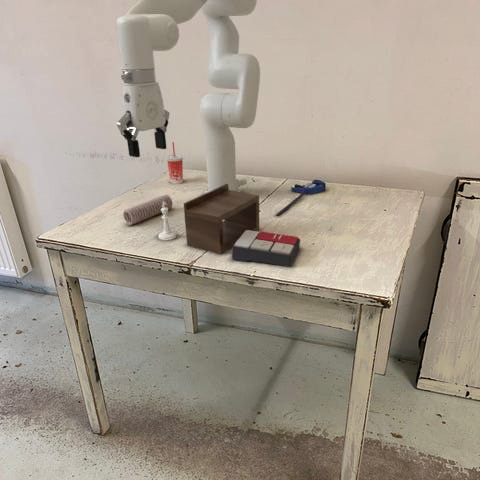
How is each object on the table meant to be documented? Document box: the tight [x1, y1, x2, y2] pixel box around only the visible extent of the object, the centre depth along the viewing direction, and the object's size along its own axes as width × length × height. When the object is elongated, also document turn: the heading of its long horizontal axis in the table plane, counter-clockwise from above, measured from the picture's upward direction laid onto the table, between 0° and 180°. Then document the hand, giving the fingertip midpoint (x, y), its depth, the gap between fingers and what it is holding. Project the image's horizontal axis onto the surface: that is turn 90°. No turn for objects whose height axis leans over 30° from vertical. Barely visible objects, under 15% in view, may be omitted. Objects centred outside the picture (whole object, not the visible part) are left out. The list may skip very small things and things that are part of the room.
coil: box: [122, 194, 173, 227], centre depth 147 cm, size 5×5×18 cm
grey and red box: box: [231, 230, 301, 267], centre depth 122 cm, size 11×4×15 cm
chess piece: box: [158, 201, 177, 241], centre depth 132 cm, size 5×5×10 cm
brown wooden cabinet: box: [183, 184, 260, 255], centre depth 130 cm, size 19×11×12 cm, turn 147°
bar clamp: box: [275, 179, 327, 217], centre depth 158 cm, size 32×2×10 cm
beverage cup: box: [165, 141, 184, 185], centre depth 174 cm, size 6×6×14 cm
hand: (148, 152), depth 123 cm, fingers open, 9 cm apart
